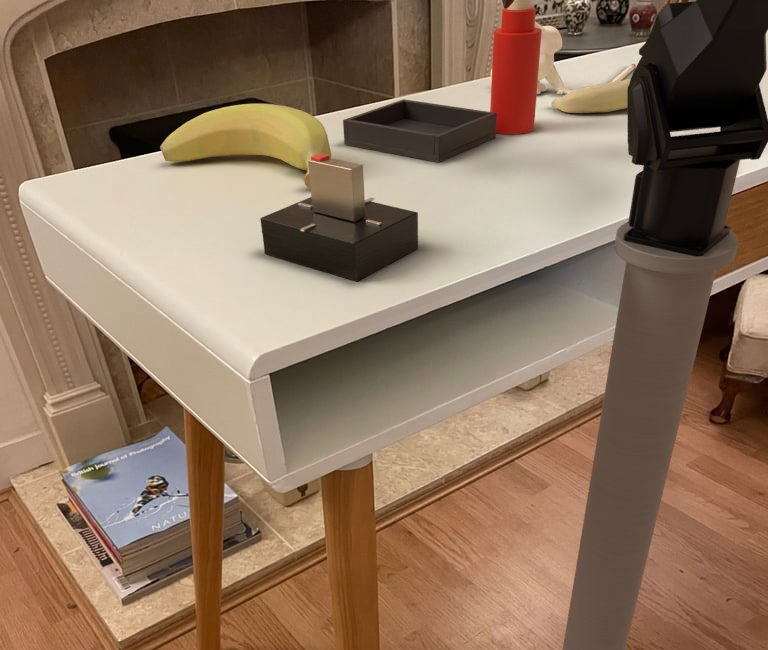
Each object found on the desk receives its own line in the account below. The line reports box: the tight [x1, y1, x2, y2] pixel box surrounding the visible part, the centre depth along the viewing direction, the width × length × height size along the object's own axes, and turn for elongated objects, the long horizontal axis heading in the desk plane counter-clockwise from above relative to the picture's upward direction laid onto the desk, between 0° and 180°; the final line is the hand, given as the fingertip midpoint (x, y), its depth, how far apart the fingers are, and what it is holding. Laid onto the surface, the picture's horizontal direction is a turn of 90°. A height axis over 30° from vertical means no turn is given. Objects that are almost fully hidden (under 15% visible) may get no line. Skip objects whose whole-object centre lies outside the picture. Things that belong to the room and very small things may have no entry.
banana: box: [159, 103, 332, 190], centre depth 83 cm, size 14×6×20 cm
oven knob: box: [308, 153, 366, 222], centre depth 63 cm, size 4×1×4 cm, turn 52°
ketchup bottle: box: [489, 0, 542, 135], centre depth 89 cm, size 5×5×14 cm
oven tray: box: [342, 98, 497, 163], centre depth 90 cm, size 13×11×3 cm
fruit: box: [551, 77, 631, 114], centre depth 99 cm, size 7×15×3 cm, turn 117°
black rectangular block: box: [259, 196, 419, 282], centre depth 65 cm, size 10×9×3 cm
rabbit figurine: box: [490, 21, 574, 95], centre depth 104 cm, size 12×8×10 cm, turn 46°
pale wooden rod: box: [610, 63, 637, 82], centre depth 110 cm, size 1×19×1 cm, turn 153°
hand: (548, 0), depth 79 cm, fingers open, 9 cm apart
